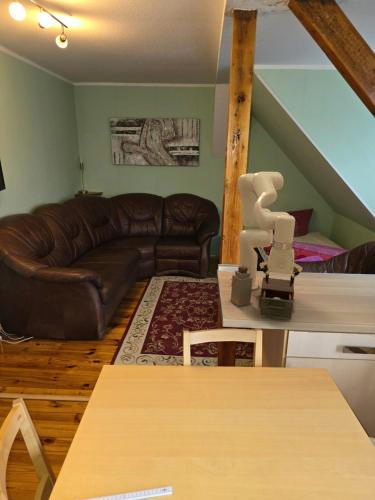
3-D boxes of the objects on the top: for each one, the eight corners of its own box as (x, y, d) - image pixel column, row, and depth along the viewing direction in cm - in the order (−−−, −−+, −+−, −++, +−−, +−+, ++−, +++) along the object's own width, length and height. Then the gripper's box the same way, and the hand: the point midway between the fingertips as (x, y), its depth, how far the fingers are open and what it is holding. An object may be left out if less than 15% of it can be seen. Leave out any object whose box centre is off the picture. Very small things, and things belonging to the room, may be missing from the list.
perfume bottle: (238, 306, 157) (241, 270, 152) (230, 301, 163) (232, 266, 158) (250, 304, 160) (253, 268, 155) (241, 298, 166) (244, 264, 161)
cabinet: (291, 312, 153) (294, 291, 150) (259, 307, 156) (261, 288, 153) (291, 299, 166) (293, 280, 163) (261, 295, 170) (263, 277, 167)
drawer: (291, 324, 139) (293, 306, 137) (258, 320, 143) (260, 302, 140) (290, 306, 156) (292, 290, 154) (261, 302, 160) (262, 286, 157)
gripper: (260, 245, 135) (257, 285, 140) (305, 249, 131) (300, 289, 135) (261, 241, 142) (258, 279, 147) (304, 244, 138) (299, 283, 142)
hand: (278, 284), depth 141 cm, fingers open, 9 cm apart
